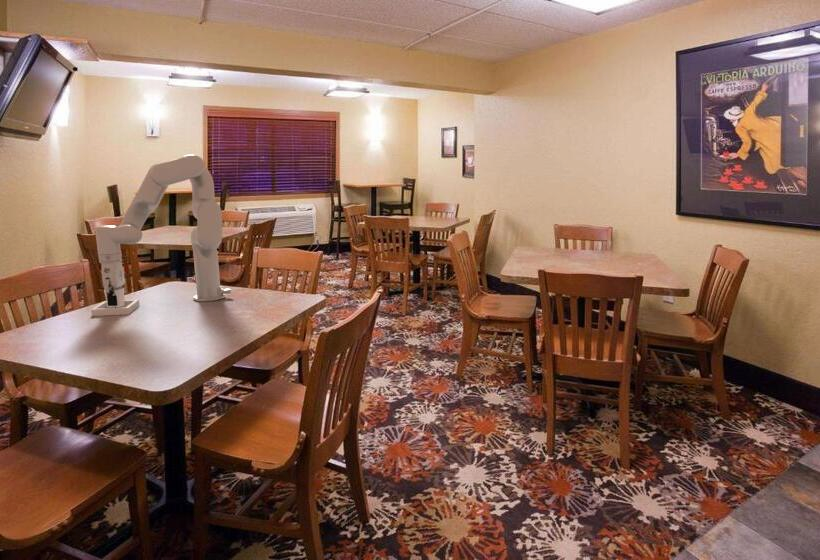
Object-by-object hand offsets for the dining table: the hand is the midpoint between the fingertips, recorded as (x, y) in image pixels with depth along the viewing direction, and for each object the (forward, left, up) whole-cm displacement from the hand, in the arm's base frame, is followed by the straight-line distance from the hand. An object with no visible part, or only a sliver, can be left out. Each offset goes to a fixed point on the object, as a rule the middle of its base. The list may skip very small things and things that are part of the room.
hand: (116, 302), depth 192 cm
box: (0, 0, -3) cm, 3 cm away
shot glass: (0, 0, -1) cm, 1 cm away
